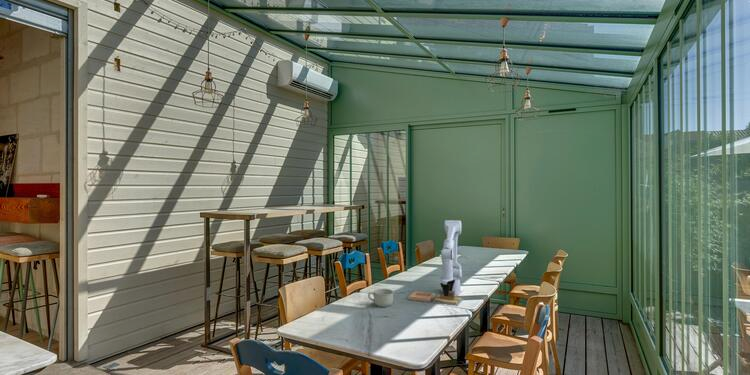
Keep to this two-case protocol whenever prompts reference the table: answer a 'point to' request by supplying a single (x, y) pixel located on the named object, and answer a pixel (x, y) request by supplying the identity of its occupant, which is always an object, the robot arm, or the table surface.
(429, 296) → the terracotta dish
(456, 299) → the oak lid
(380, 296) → the teacup
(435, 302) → the rubber mat
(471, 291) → the table surface
